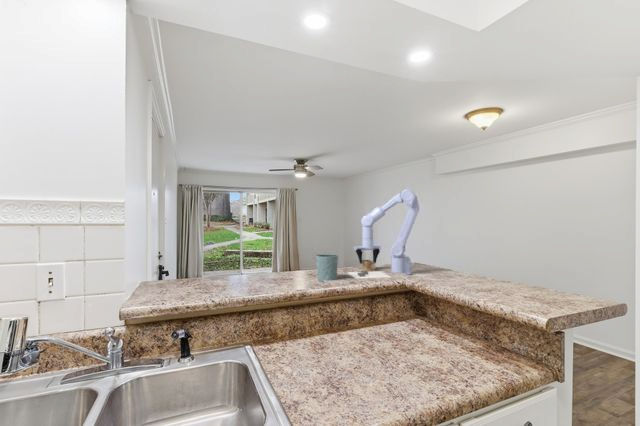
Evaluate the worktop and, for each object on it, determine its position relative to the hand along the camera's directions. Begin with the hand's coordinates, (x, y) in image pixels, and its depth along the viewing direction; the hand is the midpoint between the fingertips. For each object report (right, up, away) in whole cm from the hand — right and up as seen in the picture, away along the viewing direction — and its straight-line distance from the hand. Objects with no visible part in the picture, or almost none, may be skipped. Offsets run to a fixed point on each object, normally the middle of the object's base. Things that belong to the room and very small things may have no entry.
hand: (367, 263), depth 161 cm
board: (-2, -4, -15) cm, 15 cm away
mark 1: (-6, -3, -17) cm, 19 cm away
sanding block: (0, -5, 0) cm, 5 cm away
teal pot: (-23, -4, -24) cm, 33 cm away
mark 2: (-4, -3, -12) cm, 13 cm away
